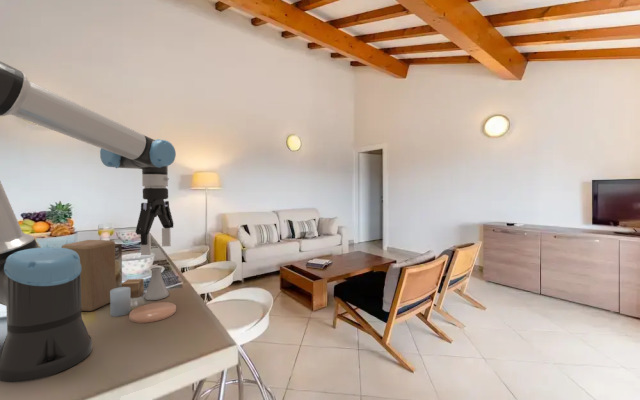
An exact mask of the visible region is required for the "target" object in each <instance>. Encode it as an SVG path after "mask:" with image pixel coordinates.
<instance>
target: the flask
mask: <svg viewBox="0 0 640 400" xmlns="http://www.w3.org/2000/svg"><path fill="white" fill-rule="evenodd" d="M162 269H163V267H162V266H161V267H160V266H159V267H158V266H157V267H156V266H155V267H152V268H150V271H151V277H150V280H149V283H148V286H147V289H146V291H145V294H144V297H143V299H145V300H146V301H158V300H162V299H165V298H168V296H170V293H169V291H168V288H167V286H166V284H165V281H164V280H163V277H162Z"/></svg>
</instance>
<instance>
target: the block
mask: <svg viewBox="0 0 640 400" xmlns="http://www.w3.org/2000/svg"><path fill="white" fill-rule="evenodd" d="M115 244H116V242H115V241H114V240H107V239H86V240H81V241H75V242H71V243H66V244H63V245H61V247H60V248H67V249H71V250H73V251H75V252H77V253H78V255H79V257H80V264H81V268H82V269H81V312H92V311H95V310H97V309H100V308H101V307H104V306H105V305H106V306H107V305H108V304H110V290H112V289H115V288H116V276H115Z"/></svg>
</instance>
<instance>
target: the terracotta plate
mask: <svg viewBox="0 0 640 400" xmlns="http://www.w3.org/2000/svg"><path fill="white" fill-rule="evenodd" d="M176 312H177V304H175V303H173V302H169V301H168V302H166V301H162V302H160V301H159V302H153V303H152V302H151V303H147V304H144V305H140V306H137V307H135V308H133V309H132V310H131V312H130V313H128V314H129V317H128V318H129V320H130V322H132V323H137V324H145V323H147V324H149V323H153V322H158V321H162V320H165V319H168V318H170V317H172V316H174V315H175V313H176Z"/></svg>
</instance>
